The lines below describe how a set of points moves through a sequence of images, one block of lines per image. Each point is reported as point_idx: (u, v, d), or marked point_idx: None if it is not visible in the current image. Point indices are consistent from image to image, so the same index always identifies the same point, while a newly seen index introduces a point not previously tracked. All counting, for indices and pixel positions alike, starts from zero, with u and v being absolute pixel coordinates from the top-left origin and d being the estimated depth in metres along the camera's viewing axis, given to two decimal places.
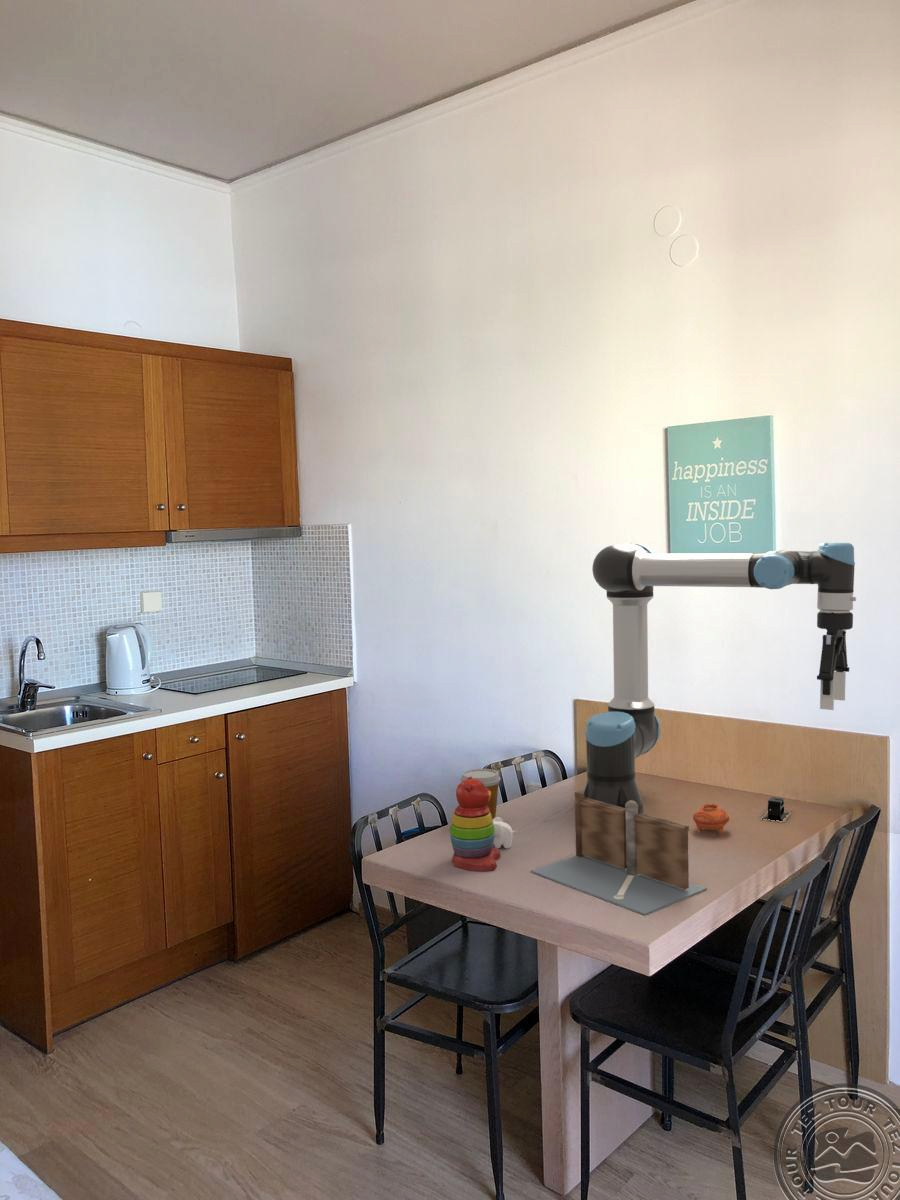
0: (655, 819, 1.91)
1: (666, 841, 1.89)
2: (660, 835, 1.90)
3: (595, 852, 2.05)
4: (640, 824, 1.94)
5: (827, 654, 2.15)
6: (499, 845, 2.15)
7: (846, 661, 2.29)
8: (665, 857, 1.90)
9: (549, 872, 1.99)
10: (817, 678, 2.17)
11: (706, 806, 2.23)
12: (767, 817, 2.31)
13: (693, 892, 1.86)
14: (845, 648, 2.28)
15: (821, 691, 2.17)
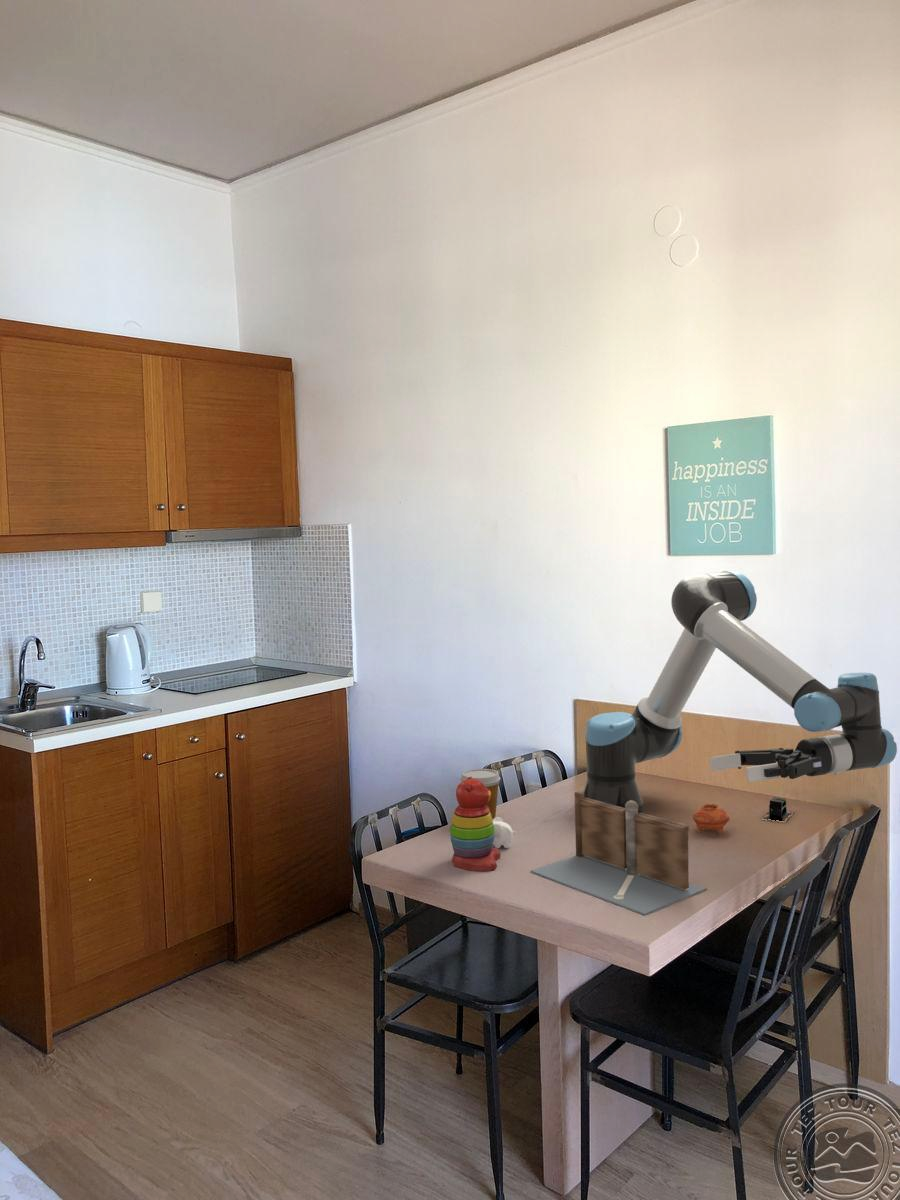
0: (655, 819, 1.91)
1: (666, 841, 1.89)
2: (660, 835, 1.90)
3: (595, 852, 2.05)
4: (640, 824, 1.94)
5: (807, 767, 1.89)
6: (499, 845, 2.15)
7: None
8: (665, 857, 1.90)
9: (549, 872, 1.99)
10: (783, 761, 1.88)
11: (706, 806, 2.23)
12: (768, 817, 2.31)
13: (693, 892, 1.86)
14: None
15: (766, 766, 1.88)
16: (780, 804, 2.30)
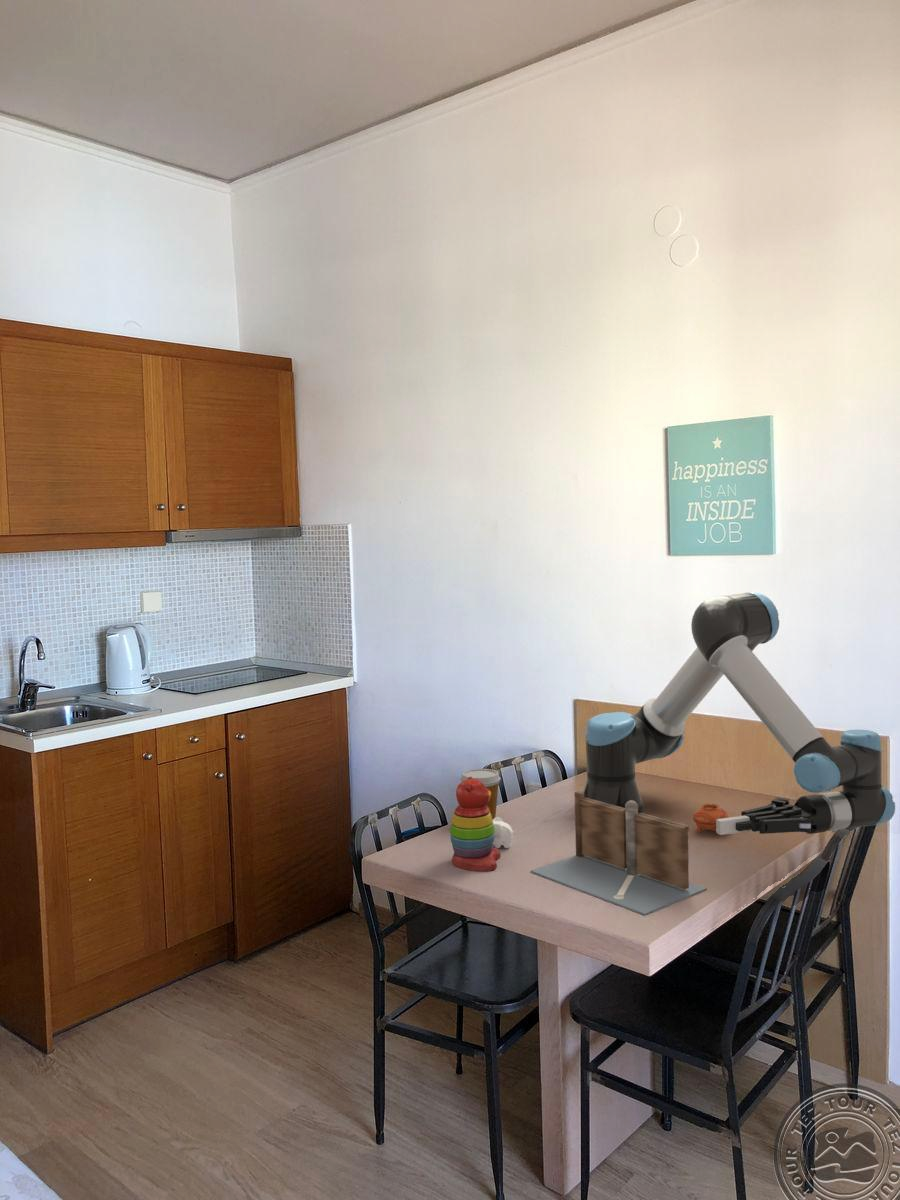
0: (655, 819, 1.91)
1: (666, 841, 1.89)
2: (660, 835, 1.90)
3: (595, 852, 2.05)
4: (640, 824, 1.94)
5: (787, 826, 1.91)
6: (499, 845, 2.15)
7: None
8: (665, 857, 1.90)
9: (549, 872, 1.99)
10: (752, 816, 1.92)
11: (706, 806, 2.23)
12: None
13: (693, 892, 1.86)
14: None
15: (738, 820, 1.92)
16: (782, 804, 2.30)
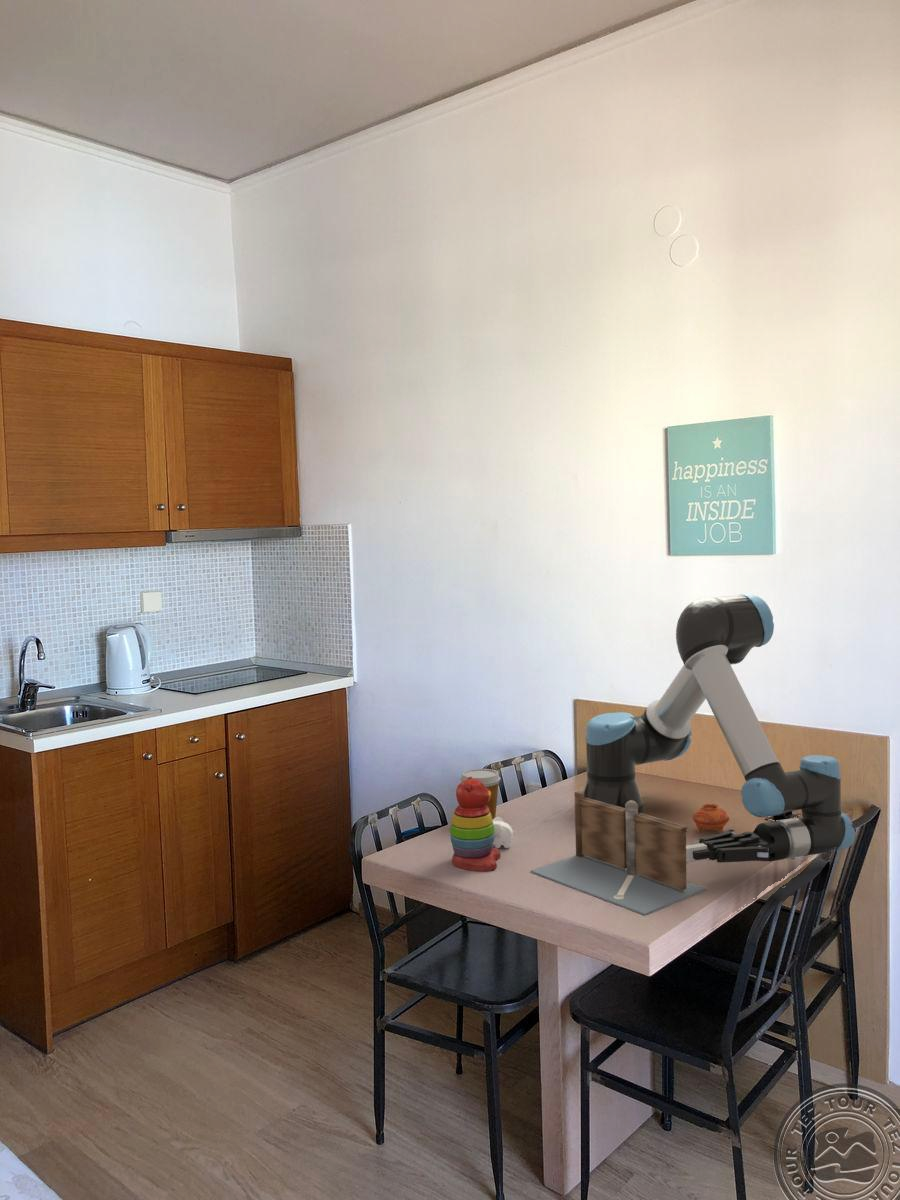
0: (654, 819, 1.91)
1: (664, 842, 1.89)
2: (659, 835, 1.90)
3: (595, 852, 2.05)
4: (639, 824, 1.94)
5: (745, 855, 1.88)
6: (499, 845, 2.15)
7: None
8: (664, 857, 1.90)
9: (549, 872, 1.99)
10: (709, 844, 1.90)
11: (706, 806, 2.23)
12: (771, 817, 2.31)
13: (693, 892, 1.86)
14: None
15: (695, 848, 1.90)
16: None
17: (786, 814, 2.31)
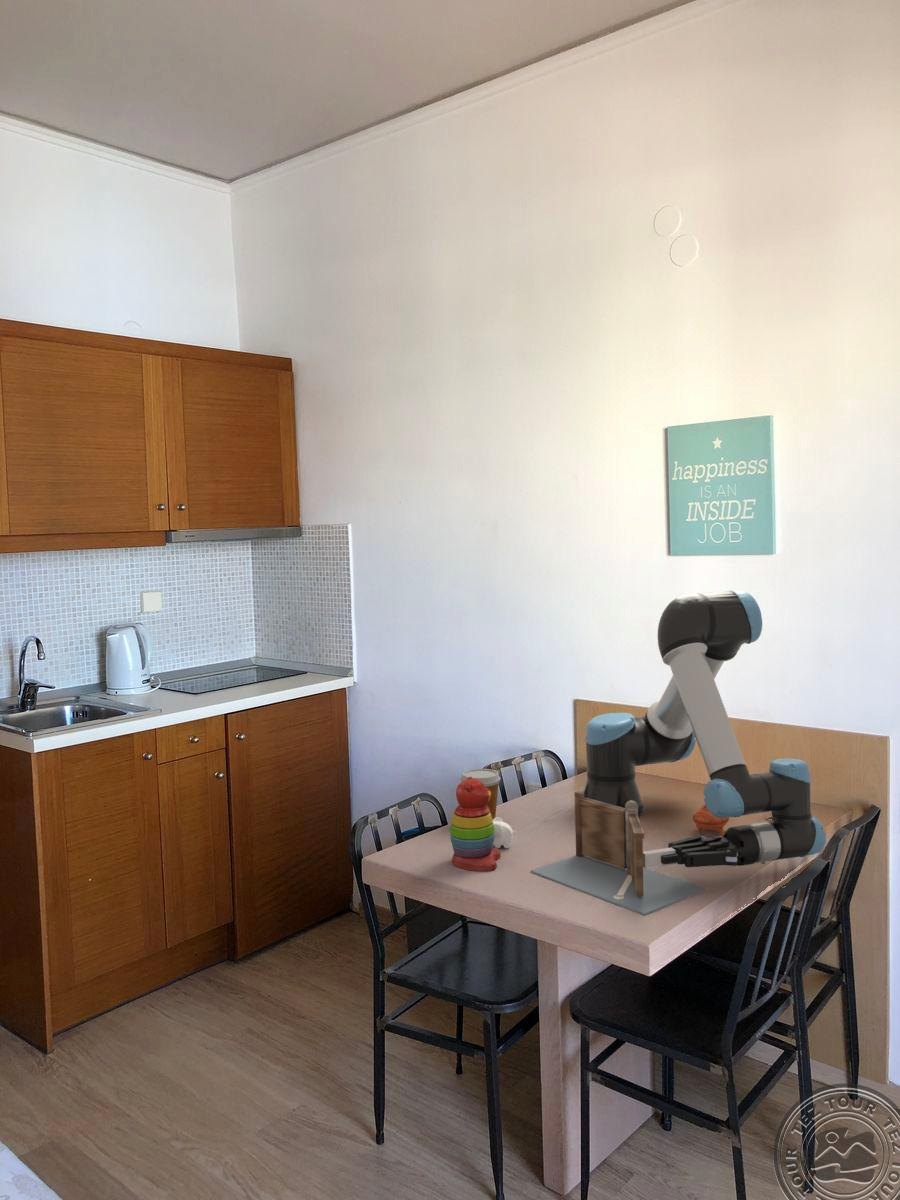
0: (632, 821, 1.90)
1: (633, 845, 1.88)
2: None
3: (595, 852, 2.05)
4: None
5: (713, 859, 1.87)
6: (499, 845, 2.15)
7: None
8: (634, 860, 1.88)
9: (549, 872, 1.99)
10: (678, 848, 1.88)
11: None
12: None
13: (693, 892, 1.86)
14: None
15: (663, 852, 1.88)
16: None
17: None
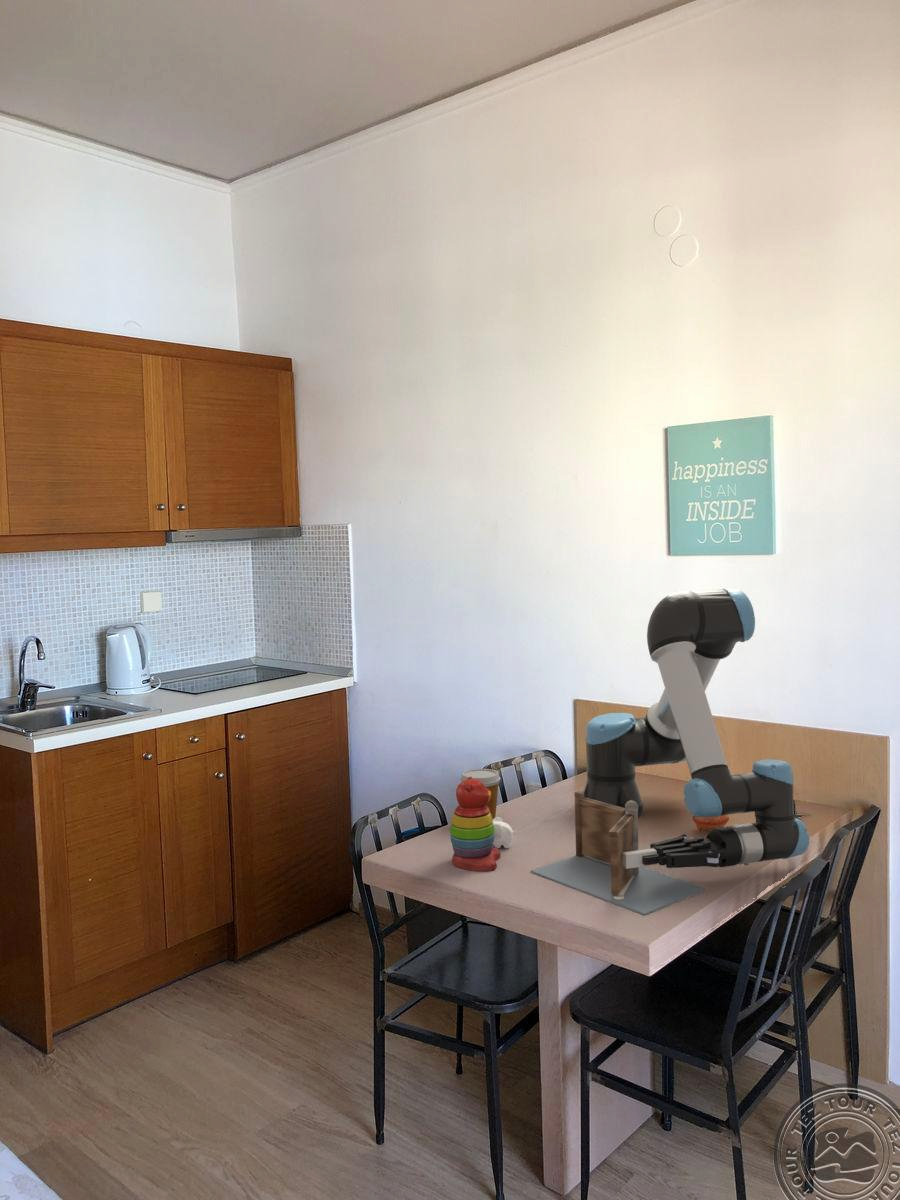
0: (621, 821, 1.91)
1: None
2: None
3: (595, 852, 2.05)
4: None
5: (694, 861, 1.86)
6: (499, 845, 2.15)
7: None
8: None
9: (549, 872, 1.99)
10: (659, 849, 1.87)
11: None
12: None
13: (693, 892, 1.86)
14: None
15: (644, 853, 1.87)
16: None
17: None
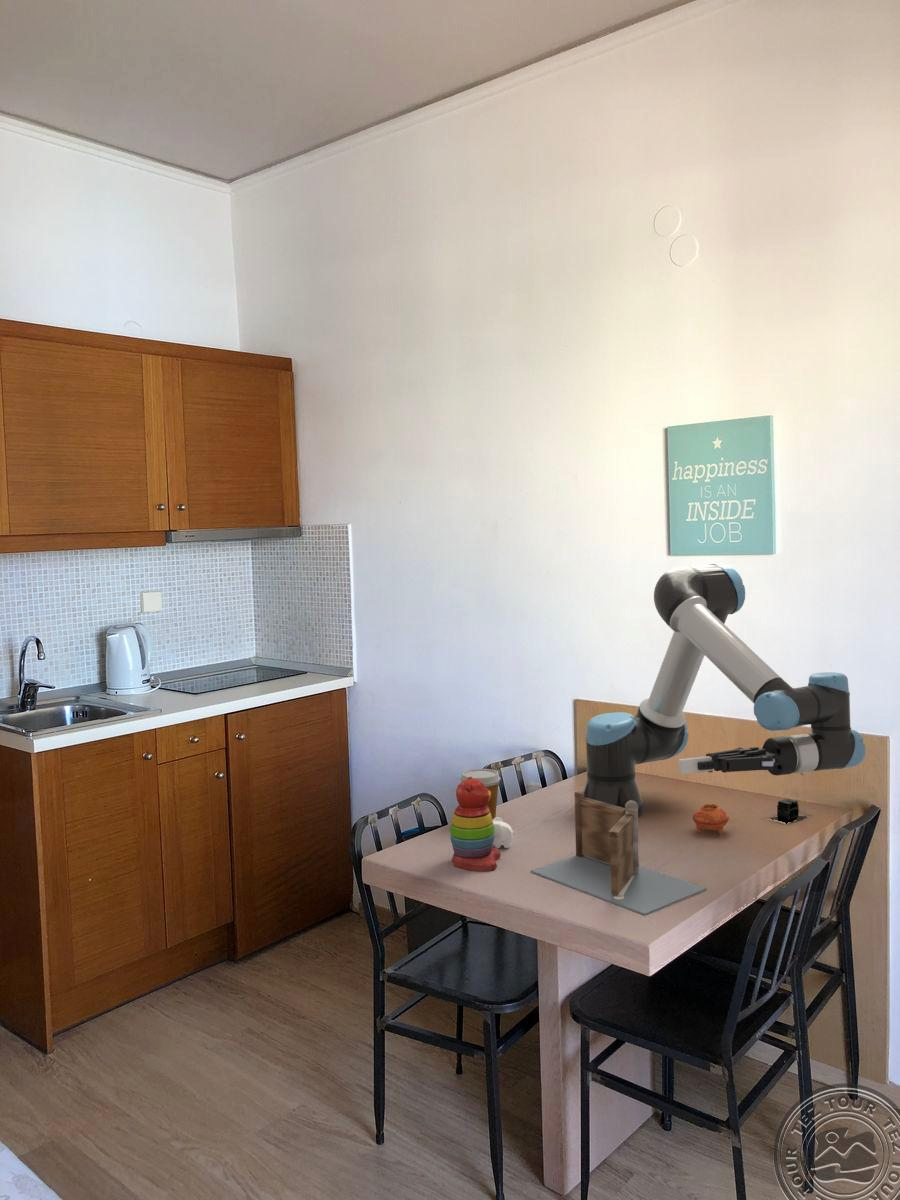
0: (620, 821, 1.91)
1: None
2: None
3: (595, 852, 2.05)
4: None
5: (749, 764, 1.90)
6: (499, 845, 2.15)
7: None
8: None
9: (549, 872, 1.99)
10: (714, 755, 1.92)
11: (706, 806, 2.23)
12: (775, 817, 2.30)
13: (693, 892, 1.86)
14: None
15: (699, 759, 1.92)
16: (787, 805, 2.29)
17: (791, 815, 2.30)
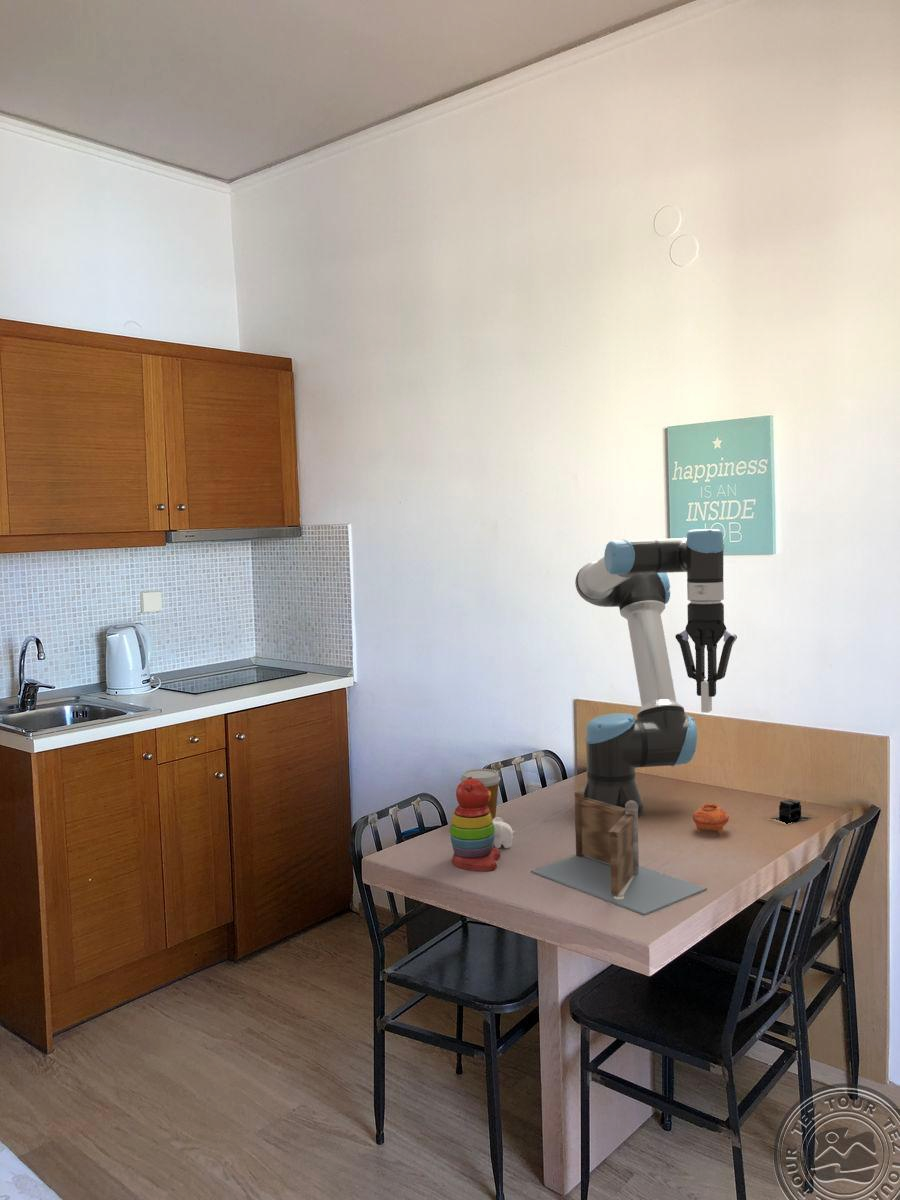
0: (620, 821, 1.91)
1: None
2: None
3: (595, 852, 2.05)
4: None
5: None
6: (499, 845, 2.15)
7: (719, 671, 2.08)
8: None
9: (549, 872, 1.99)
10: None
11: (706, 806, 2.23)
12: (777, 818, 2.30)
13: (693, 892, 1.86)
14: (722, 654, 2.07)
15: None
16: (788, 806, 2.28)
17: (793, 816, 2.30)
